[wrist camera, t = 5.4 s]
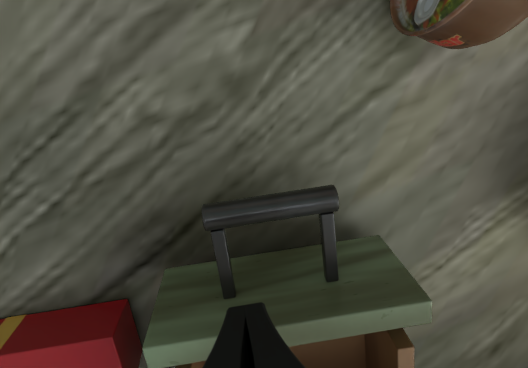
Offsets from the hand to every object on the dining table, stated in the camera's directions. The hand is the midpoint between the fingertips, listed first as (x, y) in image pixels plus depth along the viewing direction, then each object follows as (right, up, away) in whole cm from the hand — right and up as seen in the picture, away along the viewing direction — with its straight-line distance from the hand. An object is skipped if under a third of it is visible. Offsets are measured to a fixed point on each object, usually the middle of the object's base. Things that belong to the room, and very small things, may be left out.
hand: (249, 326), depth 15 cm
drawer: (+2, -2, +9) cm, 10 cm away
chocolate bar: (-11, -4, +10) cm, 15 cm away
